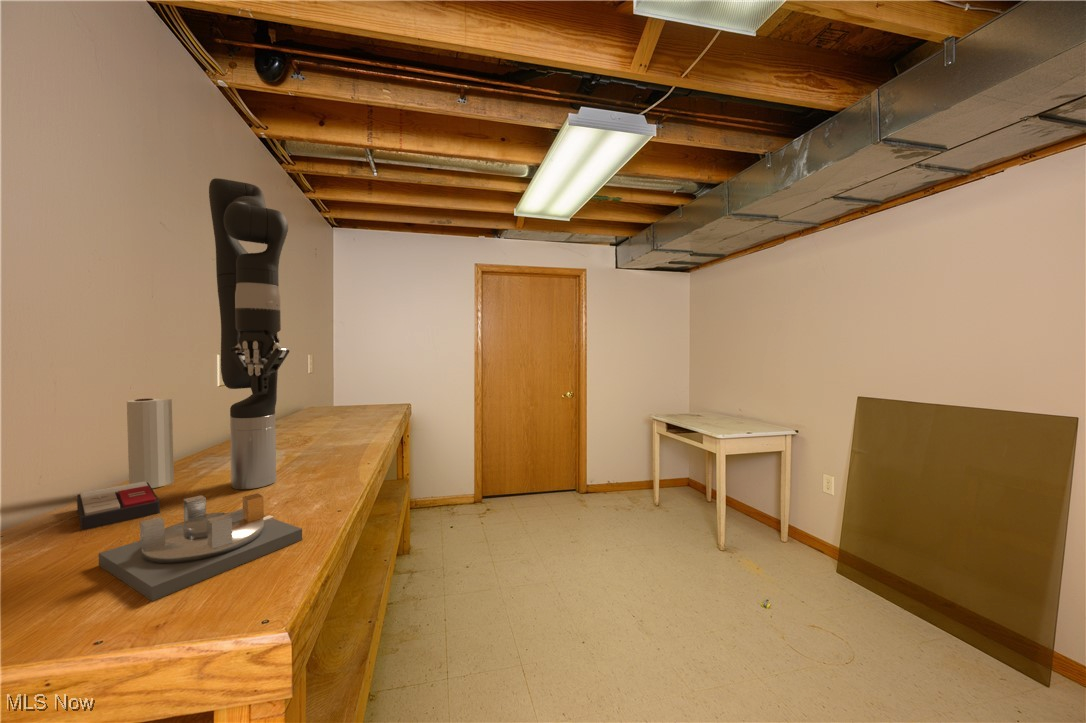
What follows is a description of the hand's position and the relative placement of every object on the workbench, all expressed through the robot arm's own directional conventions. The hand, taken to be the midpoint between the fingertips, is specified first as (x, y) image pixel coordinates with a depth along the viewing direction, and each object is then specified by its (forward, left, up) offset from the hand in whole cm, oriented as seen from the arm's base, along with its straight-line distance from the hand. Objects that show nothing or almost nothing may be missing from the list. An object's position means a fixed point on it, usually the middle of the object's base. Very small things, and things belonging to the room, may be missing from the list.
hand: (259, 393), depth 86 cm
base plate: (+8, -13, -25) cm, 29 cm away
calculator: (-28, -13, -26) cm, 40 cm away
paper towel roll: (-41, -4, -25) cm, 48 cm away
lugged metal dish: (+8, -13, -23) cm, 27 cm away
